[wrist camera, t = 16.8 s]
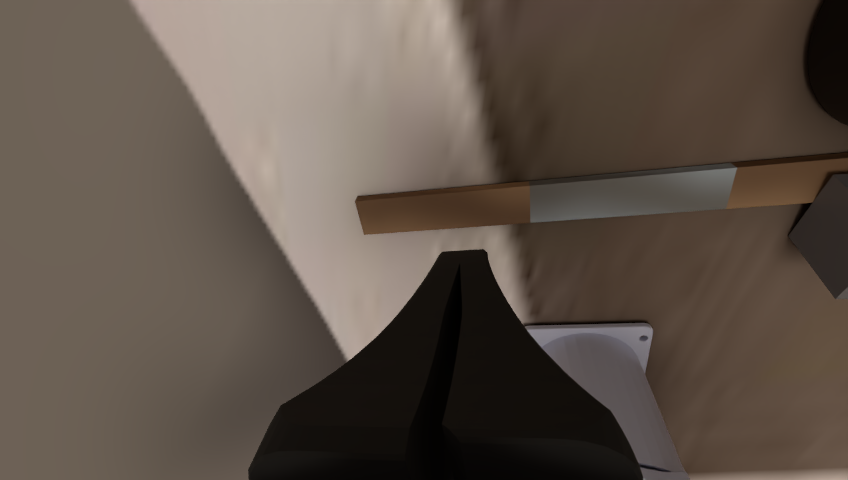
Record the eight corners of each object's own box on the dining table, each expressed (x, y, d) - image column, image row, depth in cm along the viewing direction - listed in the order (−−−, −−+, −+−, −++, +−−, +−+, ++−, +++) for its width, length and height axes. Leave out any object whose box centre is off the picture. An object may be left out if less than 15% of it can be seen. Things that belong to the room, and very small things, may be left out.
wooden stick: (947, 186, 19) (959, 192, 18) (366, 229, 24) (364, 234, 24) (973, 140, 18) (987, 145, 17) (357, 196, 23) (355, 201, 23)
